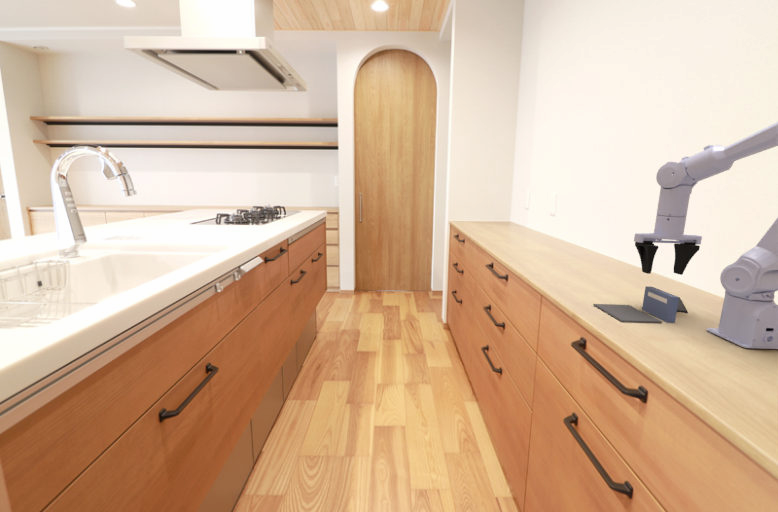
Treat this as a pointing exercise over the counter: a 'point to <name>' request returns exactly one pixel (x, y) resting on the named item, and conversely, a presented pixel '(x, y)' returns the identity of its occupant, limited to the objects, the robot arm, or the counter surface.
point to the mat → (626, 313)
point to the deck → (660, 304)
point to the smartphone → (681, 307)
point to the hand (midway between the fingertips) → (662, 273)
